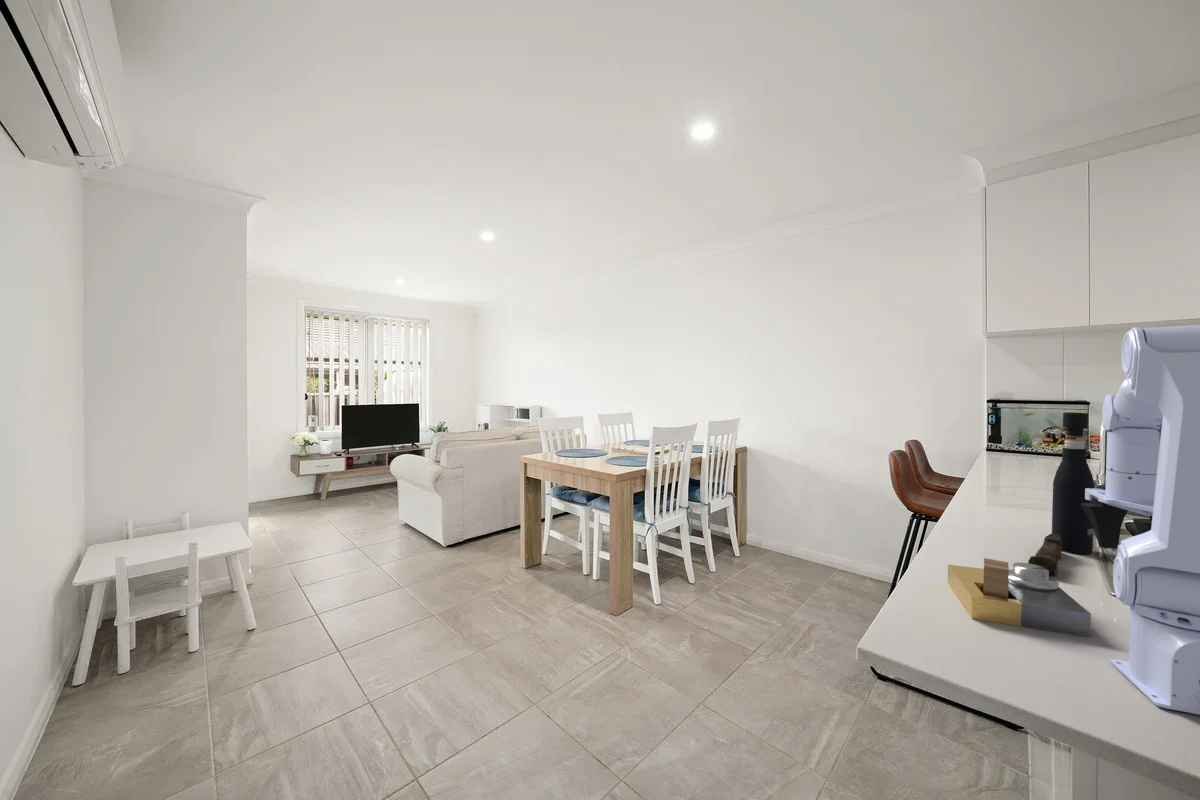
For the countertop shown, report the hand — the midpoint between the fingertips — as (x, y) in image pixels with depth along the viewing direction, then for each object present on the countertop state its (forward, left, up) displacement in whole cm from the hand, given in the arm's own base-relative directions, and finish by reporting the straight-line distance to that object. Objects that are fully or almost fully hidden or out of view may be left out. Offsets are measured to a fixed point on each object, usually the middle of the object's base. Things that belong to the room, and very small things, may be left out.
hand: (1129, 556), depth 74 cm
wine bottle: (+33, -6, -10) cm, 35 cm away
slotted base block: (-4, +16, -9) cm, 19 cm away
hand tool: (+22, +2, -10) cm, 24 cm away
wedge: (-7, +19, -9) cm, 22 cm away
